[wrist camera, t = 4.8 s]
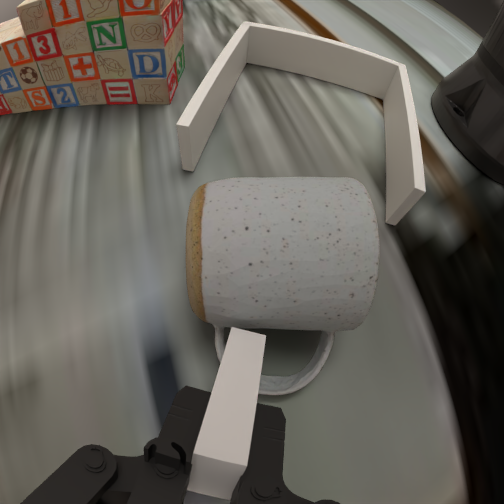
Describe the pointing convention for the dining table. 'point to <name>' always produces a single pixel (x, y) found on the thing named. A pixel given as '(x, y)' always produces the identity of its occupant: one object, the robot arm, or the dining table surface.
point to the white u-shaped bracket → (324, 68)
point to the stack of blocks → (90, 53)
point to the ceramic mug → (282, 260)
